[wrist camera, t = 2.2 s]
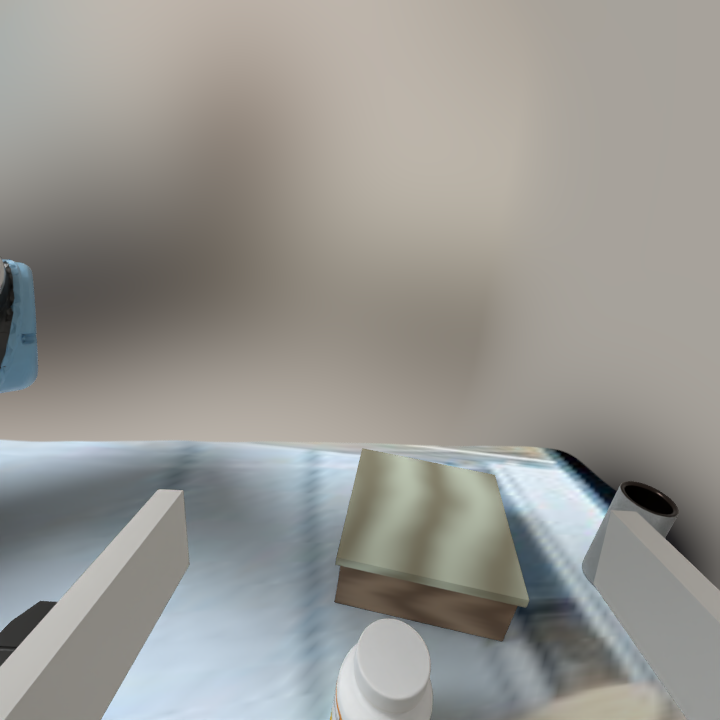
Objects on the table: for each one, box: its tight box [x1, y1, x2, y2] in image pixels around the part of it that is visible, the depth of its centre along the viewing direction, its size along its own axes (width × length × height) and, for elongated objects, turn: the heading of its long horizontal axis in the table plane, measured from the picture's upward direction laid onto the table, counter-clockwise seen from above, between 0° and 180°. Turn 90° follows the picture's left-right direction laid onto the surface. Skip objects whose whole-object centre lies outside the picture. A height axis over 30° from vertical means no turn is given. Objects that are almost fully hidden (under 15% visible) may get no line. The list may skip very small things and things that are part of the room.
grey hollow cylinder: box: [582, 481, 679, 585], centre depth 37 cm, size 4×4×10 cm
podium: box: [335, 448, 529, 641], centre depth 38 cm, size 15×15×6 cm
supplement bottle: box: [330, 618, 433, 720], centre depth 23 cm, size 5×5×10 cm
